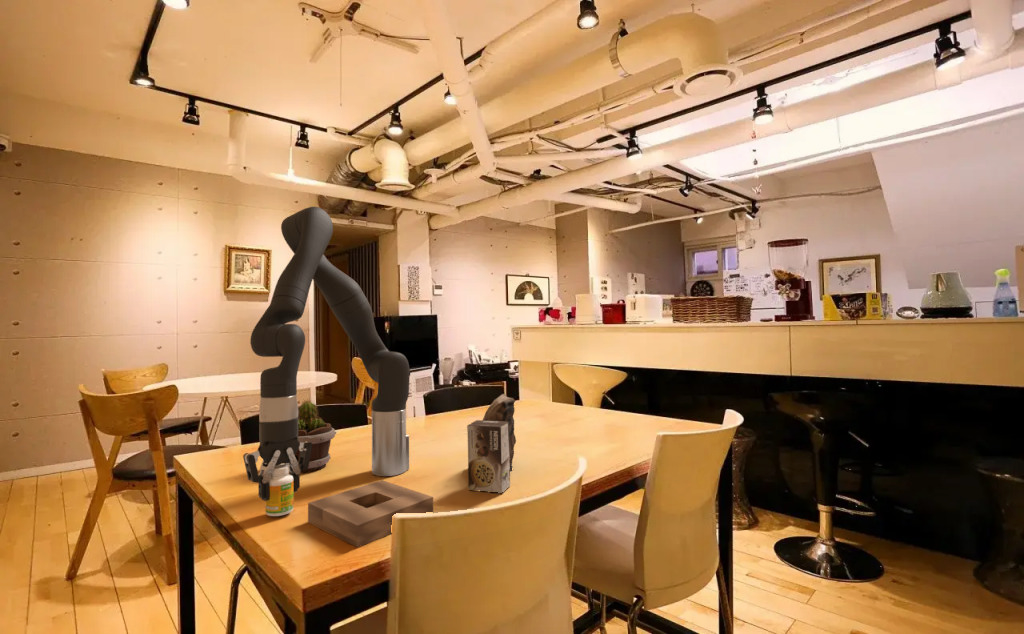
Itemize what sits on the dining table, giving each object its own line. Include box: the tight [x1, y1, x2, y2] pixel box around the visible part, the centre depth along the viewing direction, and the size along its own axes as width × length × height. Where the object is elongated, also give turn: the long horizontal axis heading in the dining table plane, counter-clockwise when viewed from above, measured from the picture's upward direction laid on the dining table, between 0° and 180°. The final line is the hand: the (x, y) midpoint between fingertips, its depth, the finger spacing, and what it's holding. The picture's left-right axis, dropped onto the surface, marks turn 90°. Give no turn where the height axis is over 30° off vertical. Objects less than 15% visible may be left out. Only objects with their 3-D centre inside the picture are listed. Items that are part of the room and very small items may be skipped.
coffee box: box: [466, 419, 511, 494], centre depth 116 cm, size 9×6×16 cm
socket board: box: [307, 479, 434, 548], centre depth 98 cm, size 18×18×4 cm
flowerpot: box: [295, 398, 337, 474], centre depth 135 cm, size 14×15×20 cm
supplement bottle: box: [265, 464, 295, 517], centre depth 101 cm, size 5×5×10 cm
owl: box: [482, 393, 517, 472], centre depth 133 cm, size 13×13×20 cm
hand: (279, 495), depth 101 cm, fingers closed on supplement bottle, 5 cm apart
